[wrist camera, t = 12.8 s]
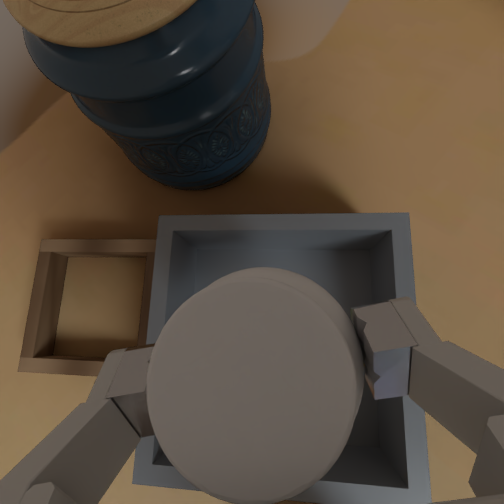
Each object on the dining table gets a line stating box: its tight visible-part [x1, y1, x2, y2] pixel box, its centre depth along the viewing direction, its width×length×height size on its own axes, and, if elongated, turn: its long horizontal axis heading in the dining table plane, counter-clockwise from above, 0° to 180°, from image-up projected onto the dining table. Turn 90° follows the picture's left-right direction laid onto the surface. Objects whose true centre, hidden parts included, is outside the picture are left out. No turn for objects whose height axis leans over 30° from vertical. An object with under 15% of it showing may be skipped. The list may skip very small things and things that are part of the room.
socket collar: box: [18, 239, 157, 376], centre depth 25 cm, size 10×10×2 cm
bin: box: [132, 213, 432, 504], centre depth 20 cm, size 15×15×6 cm
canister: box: [3, 0, 271, 190], centre depth 20 cm, size 13×13×18 cm
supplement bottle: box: [146, 267, 364, 504], centre depth 10 cm, size 5×5×10 cm
